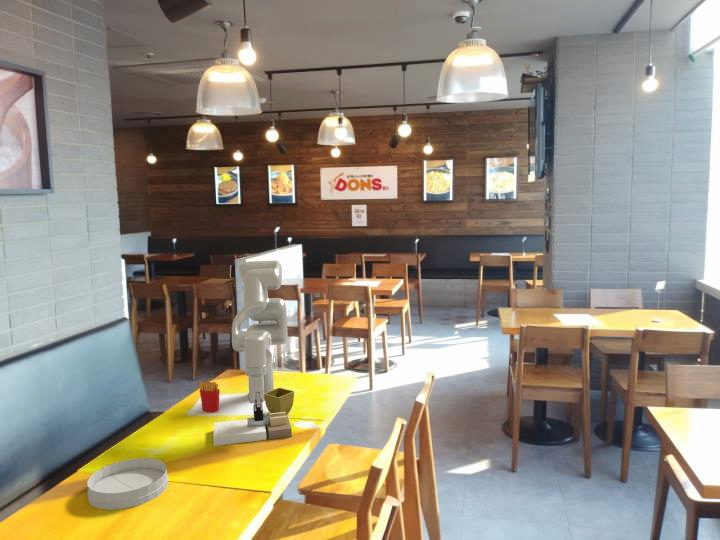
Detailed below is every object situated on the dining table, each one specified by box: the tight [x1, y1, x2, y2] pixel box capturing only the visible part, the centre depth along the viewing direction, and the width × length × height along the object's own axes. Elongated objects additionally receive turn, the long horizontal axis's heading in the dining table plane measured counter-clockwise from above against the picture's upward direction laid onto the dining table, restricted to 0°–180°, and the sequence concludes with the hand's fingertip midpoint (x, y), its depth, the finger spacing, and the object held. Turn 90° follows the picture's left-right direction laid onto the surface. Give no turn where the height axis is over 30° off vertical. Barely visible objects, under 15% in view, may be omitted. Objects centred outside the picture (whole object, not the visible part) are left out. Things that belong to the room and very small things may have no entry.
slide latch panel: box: [212, 412, 293, 447], centre depth 207 cm, size 14×27×6 cm, turn 103°
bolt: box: [246, 404, 281, 427], centre depth 207 cm, size 3×12×7 cm, turn 103°
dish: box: [86, 457, 169, 511], centre depth 168 cm, size 22×22×5 cm
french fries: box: [198, 381, 220, 414], centre depth 231 cm, size 8×4×12 cm, turn 74°
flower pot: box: [264, 387, 295, 415], centre depth 225 cm, size 9×9×9 cm
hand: (258, 418), depth 207 cm, fingers closed on bolt, 3 cm apart
